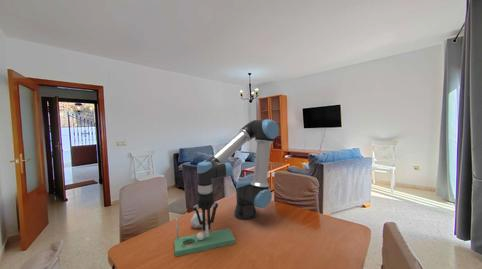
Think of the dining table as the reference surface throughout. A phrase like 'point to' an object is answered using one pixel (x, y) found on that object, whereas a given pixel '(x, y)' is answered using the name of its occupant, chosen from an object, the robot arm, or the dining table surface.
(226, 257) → the dining table surface
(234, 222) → the dining table surface
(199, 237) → the ball
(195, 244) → the mini golf green
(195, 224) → the die
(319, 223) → the dining table surface
